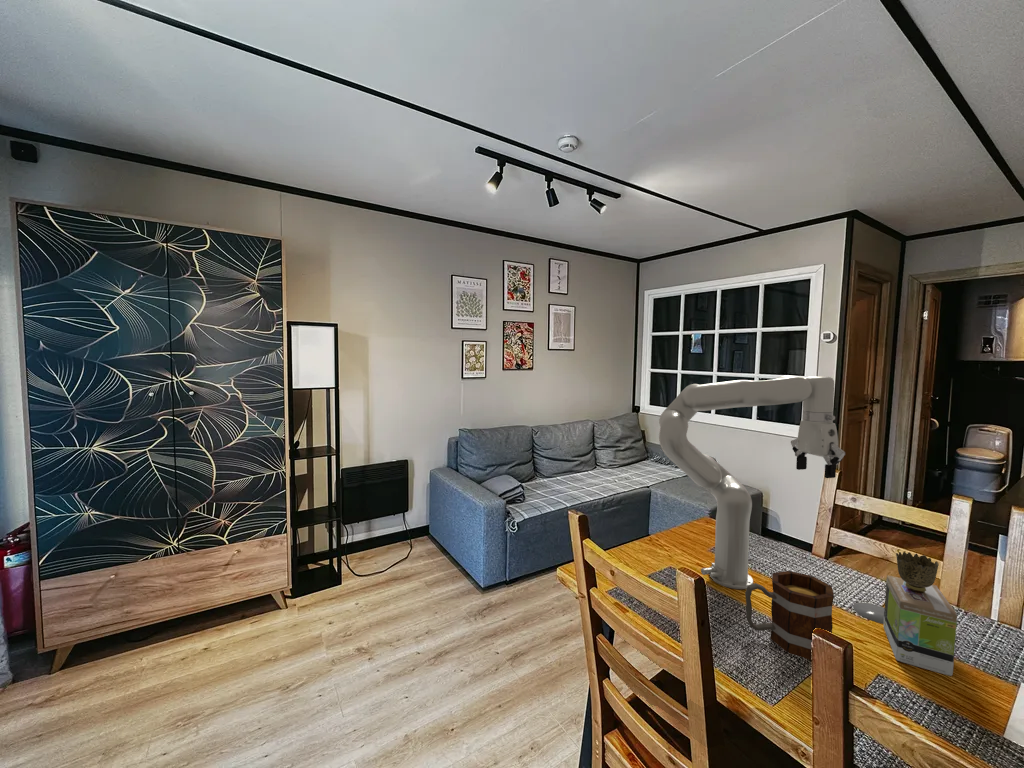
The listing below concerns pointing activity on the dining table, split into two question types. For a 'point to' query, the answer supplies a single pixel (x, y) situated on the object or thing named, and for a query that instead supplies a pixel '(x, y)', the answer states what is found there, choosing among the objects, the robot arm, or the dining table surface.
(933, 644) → the tea box
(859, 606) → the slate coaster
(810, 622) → the mug
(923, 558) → the cup
